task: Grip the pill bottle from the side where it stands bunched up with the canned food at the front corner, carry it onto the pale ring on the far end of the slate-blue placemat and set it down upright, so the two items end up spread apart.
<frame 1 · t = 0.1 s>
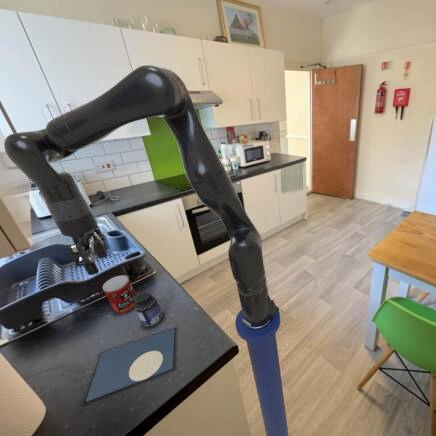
hand: (99, 264, 68), 25 cm above the counter, tool pointing down, fingers open, 8 cm apart
canned food: (127, 305, 88), on the counter
placemat: (136, 360, 68), on the counter
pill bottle: (153, 320, 81), on the counter
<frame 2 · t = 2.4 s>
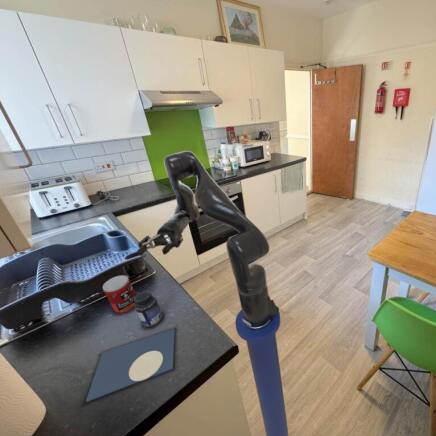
hand: (151, 253, 82), 20 cm above the counter, tool horizontal, fingers open, 8 cm apart
nothing on the counter moved.
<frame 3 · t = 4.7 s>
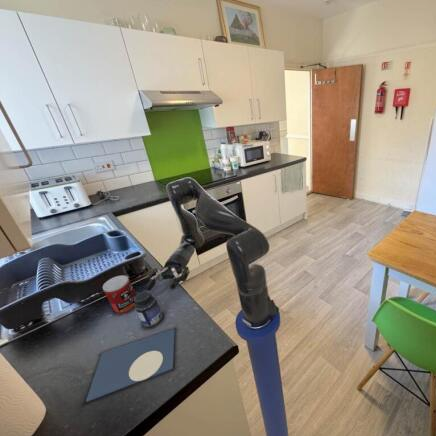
hand: (159, 288, 85), 7 cm above the counter, tool horizontal, fingers open, 8 cm apart
nothing on the counter moved.
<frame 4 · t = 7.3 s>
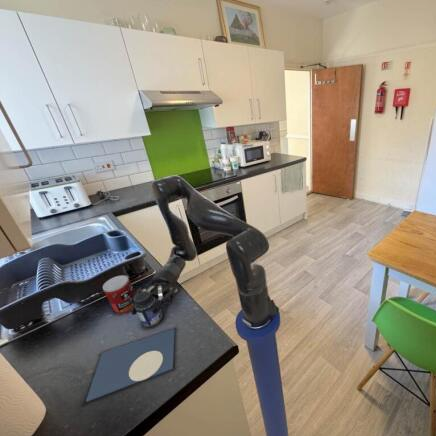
hand: (143, 312, 76), 6 cm above the counter, tool horizontal, fingers closed on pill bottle, 6 cm apart
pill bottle: (153, 320, 81), on the counter, touching gripper
everything else where it was.
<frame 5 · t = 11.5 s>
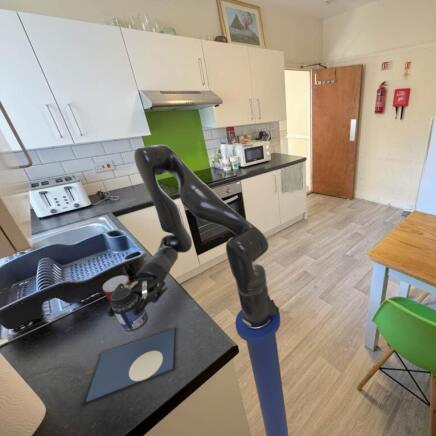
hand: (122, 313, 61), 18 cm above the counter, tool horizontal, fingers closed on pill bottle, 6 cm apart
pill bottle: (136, 323, 66), point 11 cm above the counter, touching gripper
everything else where it was.
when the fingers open (7 cm above the counter, at t = 15.7 s): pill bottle stays where it is, resting on placemat.
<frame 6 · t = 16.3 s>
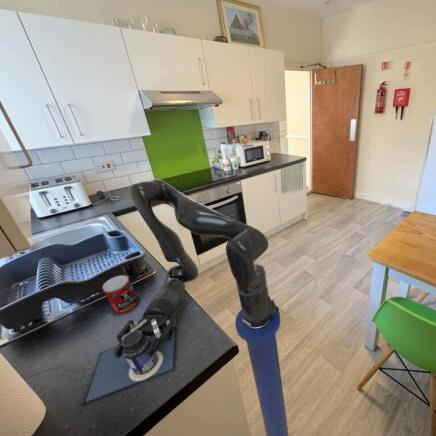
hand: (133, 355, 61), 8 cm above the counter, tool horizontal, fingers open, 8 cm apart
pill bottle: (146, 365, 66), resting on placemat
everything else where it was.
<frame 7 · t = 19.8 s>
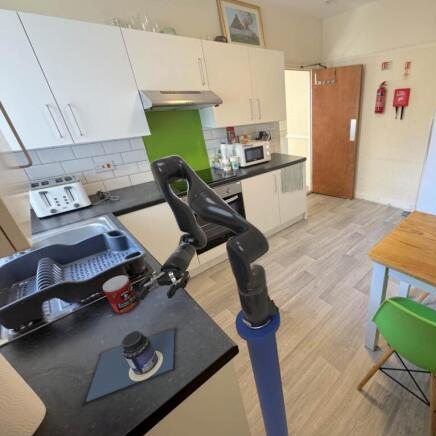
hand: (154, 297, 71), 14 cm above the counter, tool horizontal, fingers open, 8 cm apart
nothing on the counter moved.
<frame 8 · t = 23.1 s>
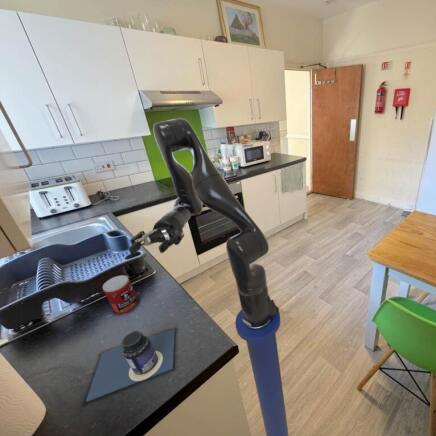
hand: (145, 251, 68), 28 cm above the counter, tool horizontal, fingers open, 8 cm apart
nothing on the counter moved.
at the end: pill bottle 0.1 cm from the target spot, resting on placemat; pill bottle tilted 0°; the gripper is holding nothing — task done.
